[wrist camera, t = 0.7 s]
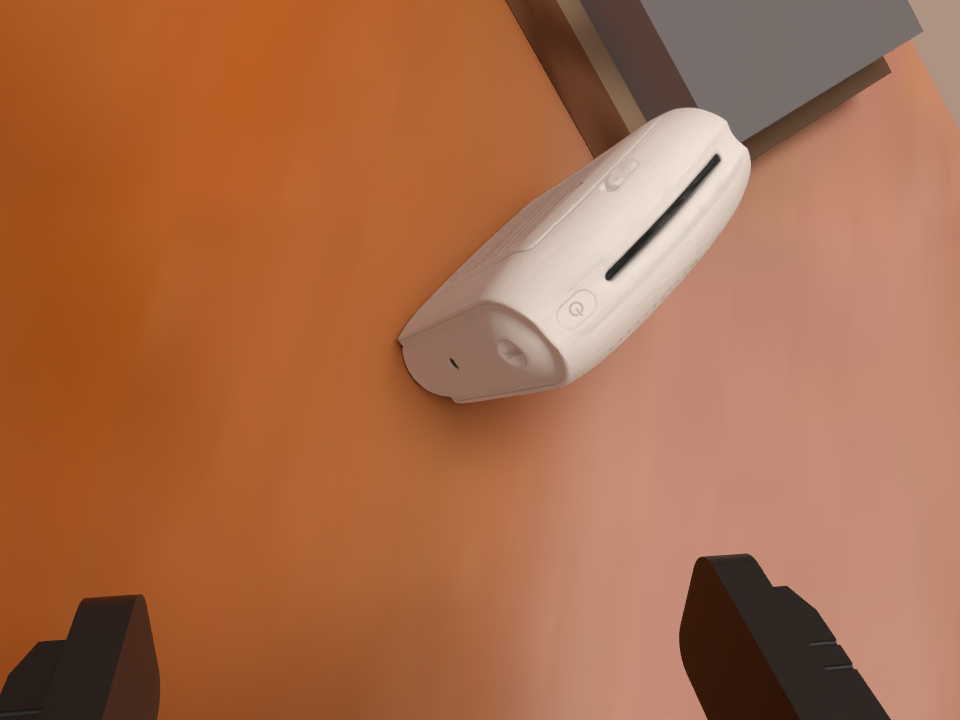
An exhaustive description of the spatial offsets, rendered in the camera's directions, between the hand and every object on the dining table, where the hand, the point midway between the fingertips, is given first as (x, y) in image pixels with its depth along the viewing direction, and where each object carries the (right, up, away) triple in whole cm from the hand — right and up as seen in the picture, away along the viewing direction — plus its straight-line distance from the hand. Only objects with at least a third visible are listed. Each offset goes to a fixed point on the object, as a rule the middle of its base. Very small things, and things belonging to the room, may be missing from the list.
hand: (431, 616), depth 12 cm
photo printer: (+1, +6, +22) cm, 23 cm away
